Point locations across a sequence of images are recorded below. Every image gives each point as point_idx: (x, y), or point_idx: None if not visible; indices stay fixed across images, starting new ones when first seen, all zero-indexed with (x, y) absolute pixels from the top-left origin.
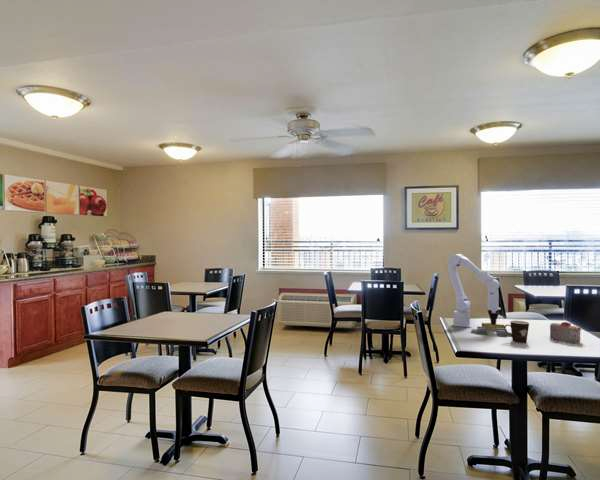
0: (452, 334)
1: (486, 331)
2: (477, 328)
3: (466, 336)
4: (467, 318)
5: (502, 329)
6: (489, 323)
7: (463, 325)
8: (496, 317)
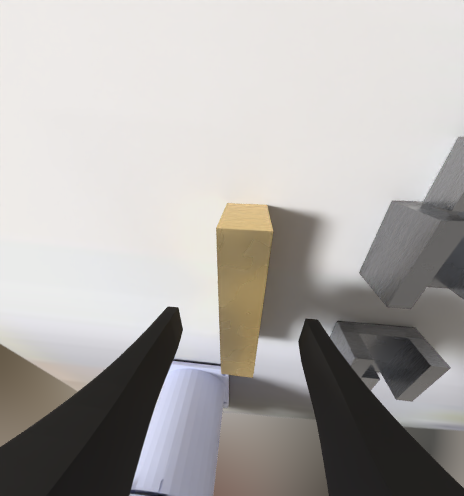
0: (407, 423)
1: (431, 351)
2: (411, 400)
3: (457, 399)
4: (209, 433)
5: (437, 260)
6: (244, 342)
7: (224, 390)
8: (406, 439)
